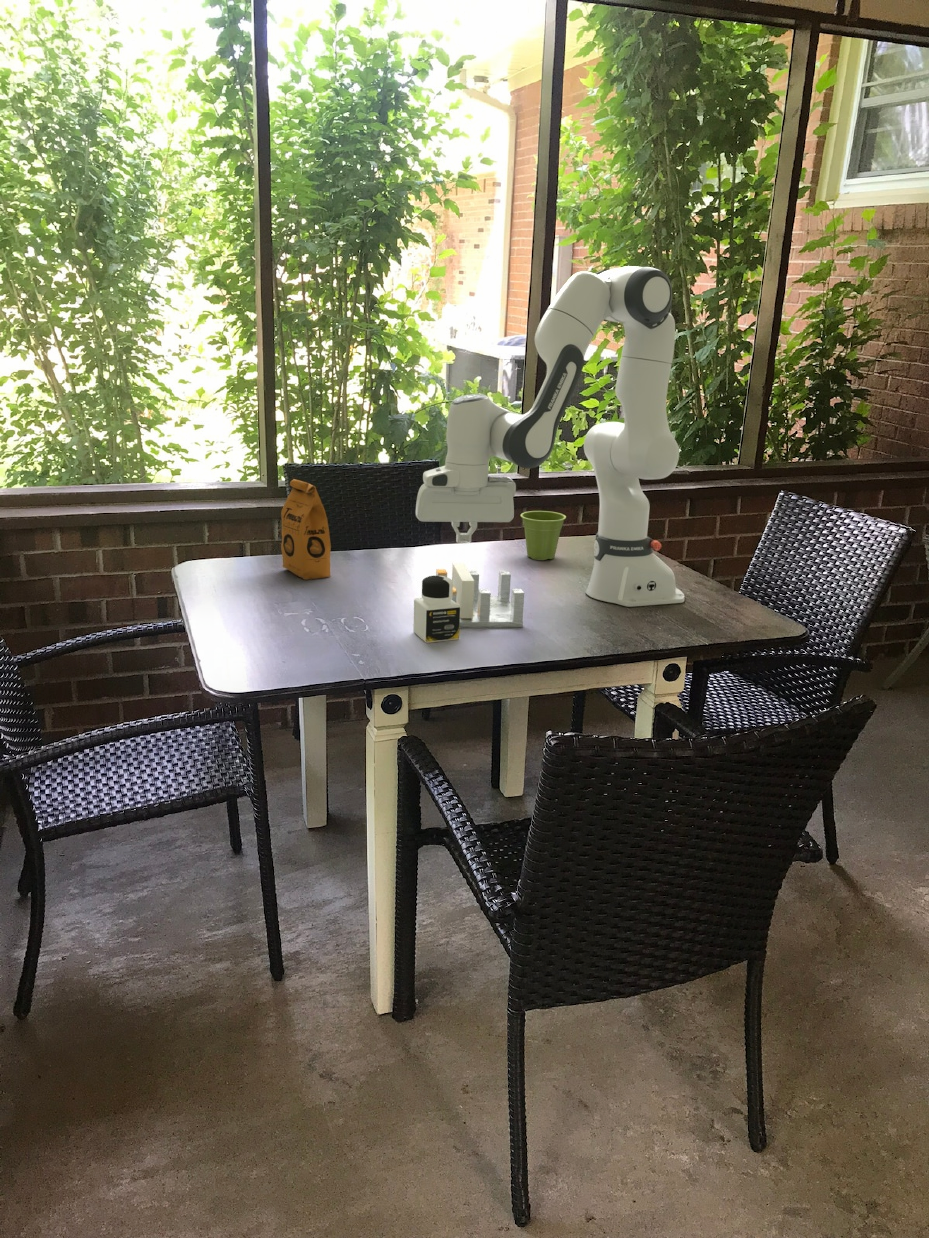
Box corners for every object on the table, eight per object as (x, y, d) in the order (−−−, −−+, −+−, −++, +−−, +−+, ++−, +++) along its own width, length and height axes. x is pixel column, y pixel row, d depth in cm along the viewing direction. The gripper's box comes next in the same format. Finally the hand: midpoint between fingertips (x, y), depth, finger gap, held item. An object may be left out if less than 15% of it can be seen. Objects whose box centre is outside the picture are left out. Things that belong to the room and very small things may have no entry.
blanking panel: (462, 598, 212) (463, 563, 209) (472, 618, 199) (474, 580, 196) (451, 598, 211) (452, 563, 209) (460, 618, 198) (462, 580, 196)
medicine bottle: (425, 643, 187) (427, 584, 183) (412, 632, 193) (414, 574, 190) (459, 640, 190) (461, 581, 186) (445, 628, 196) (447, 571, 192)
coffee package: (297, 582, 224) (296, 488, 217) (277, 569, 234) (275, 479, 227) (336, 577, 229) (336, 485, 222) (315, 565, 239) (314, 476, 232)
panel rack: (506, 601, 216) (507, 568, 213) (522, 627, 199) (524, 591, 196) (435, 601, 213) (436, 568, 211) (445, 628, 196) (447, 592, 194)
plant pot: (514, 551, 260) (517, 510, 256) (558, 552, 261) (561, 511, 258) (522, 562, 249) (524, 520, 245) (567, 563, 250) (570, 520, 247)
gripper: (513, 474, 201) (509, 539, 205) (415, 472, 198) (413, 538, 202) (519, 479, 195) (515, 546, 199) (419, 478, 192) (417, 545, 196)
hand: (463, 542), depth 201 cm, fingers closed
